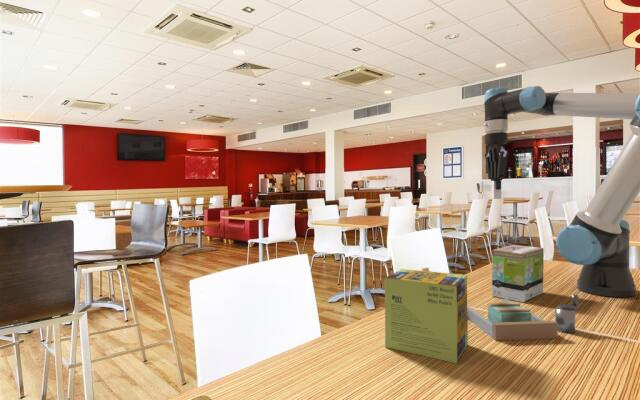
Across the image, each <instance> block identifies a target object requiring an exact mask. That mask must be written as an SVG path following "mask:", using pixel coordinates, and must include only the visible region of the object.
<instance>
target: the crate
mask: <svg viewBox="0 0 640 400" xmlns="http://www.w3.org/2000/svg"><path fill="white" fill-rule="evenodd" d="M531 313H532V312H531V309H530V308H528V307H523V306H522V305H521V302H518V301H515V302H514V301H511V302H510V303H503V302H488V303H487V320H488V321H489V322H491V323H498V322H526V321H531Z"/></svg>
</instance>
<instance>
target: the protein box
mask: <svg viewBox="0 0 640 400" xmlns="http://www.w3.org/2000/svg"><path fill="white" fill-rule="evenodd" d="M430 271H431V270H429V271H421V270H419V269H405V268H401V269H400V270H397V271H396V272H394V273H392V274H389V275H388V276H386V277H384V310H385V311H384V321H385V322H384V327H385V328H384V329H385V330H384V331H385V332H384V333H385V334H384V335H385V337H384V338H385V339H384V340H385V341H384V343H385V346H384V347H385V348H387V349H391V350H395V351H400V352H404V353H410V354H413V355H419V356H421V357H425V358H426V357H428V358H431V359H435V360H439V361H440V360H441V361H444V362H450V363H454V364H457V363H458V362H460V361H459V360H460V359H461V357H462V356H463V354H464V352H465V351H466V349H467V347H468V345H469V335H468V330H469V329H468V326H469V325H468V324H469V323H468V321H469V318H467V305H468V275H467V274H461V273H460V274H459V273H448V272H440V271H432V272H430Z"/></svg>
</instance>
